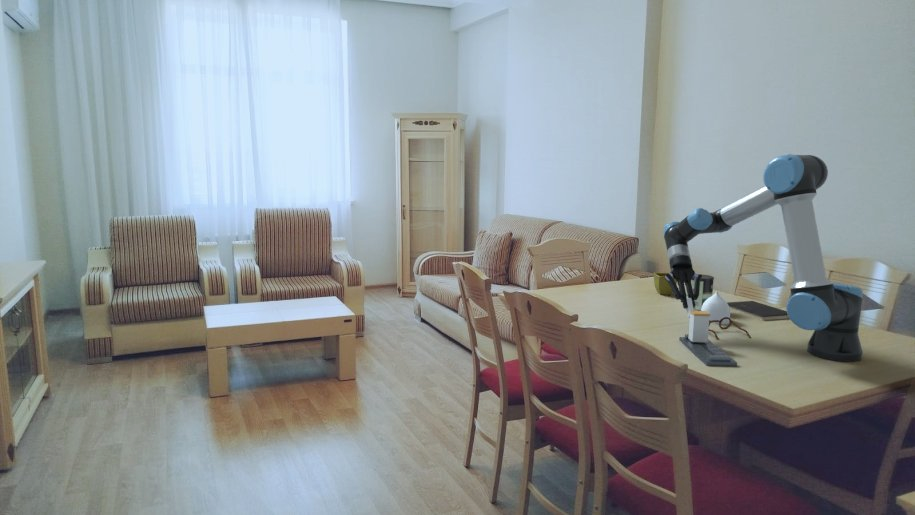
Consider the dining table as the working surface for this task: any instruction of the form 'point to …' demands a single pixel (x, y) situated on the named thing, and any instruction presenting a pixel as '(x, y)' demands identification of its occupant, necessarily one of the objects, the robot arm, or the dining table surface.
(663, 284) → the flower pot
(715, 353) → the board
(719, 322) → the glasses
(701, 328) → the fader knob
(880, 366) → the dining table surface
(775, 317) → the hardcover book
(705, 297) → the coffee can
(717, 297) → the teardrop
